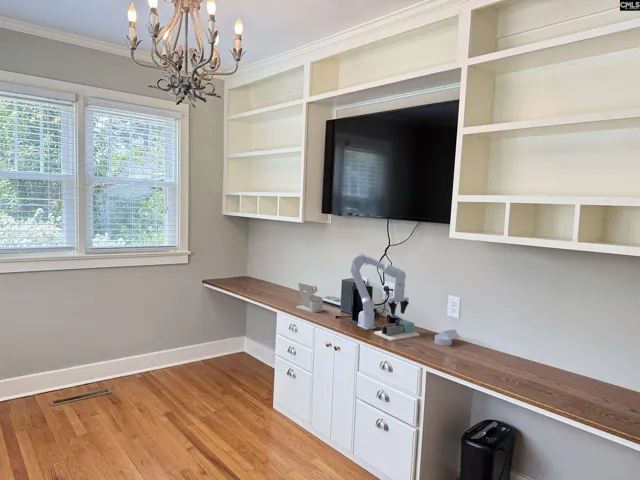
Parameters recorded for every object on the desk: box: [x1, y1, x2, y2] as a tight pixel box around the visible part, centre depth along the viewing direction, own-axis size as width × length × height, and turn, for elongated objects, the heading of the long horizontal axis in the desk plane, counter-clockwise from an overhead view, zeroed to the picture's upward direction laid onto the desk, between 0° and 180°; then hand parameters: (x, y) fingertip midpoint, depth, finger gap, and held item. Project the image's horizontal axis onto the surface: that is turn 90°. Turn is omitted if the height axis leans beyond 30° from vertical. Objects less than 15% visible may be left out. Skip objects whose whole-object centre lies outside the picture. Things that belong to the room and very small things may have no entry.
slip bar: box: [395, 319, 404, 332], centre depth 255 cm, size 3×10×7 cm, turn 124°
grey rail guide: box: [381, 322, 401, 336], centre depth 250 cm, size 5×10×5 cm, turn 124°
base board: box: [373, 330, 420, 341], centre depth 253 cm, size 14×22×1 cm, turn 124°
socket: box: [399, 319, 415, 334], centre depth 257 cm, size 7×6×6 cm
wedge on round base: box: [434, 328, 461, 347], centre depth 244 cm, size 9×7×13 cm
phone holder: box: [295, 281, 324, 313], centre depth 299 cm, size 17×10×18 cm, turn 46°
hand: (397, 313), depth 260 cm, fingers open, 7 cm apart
